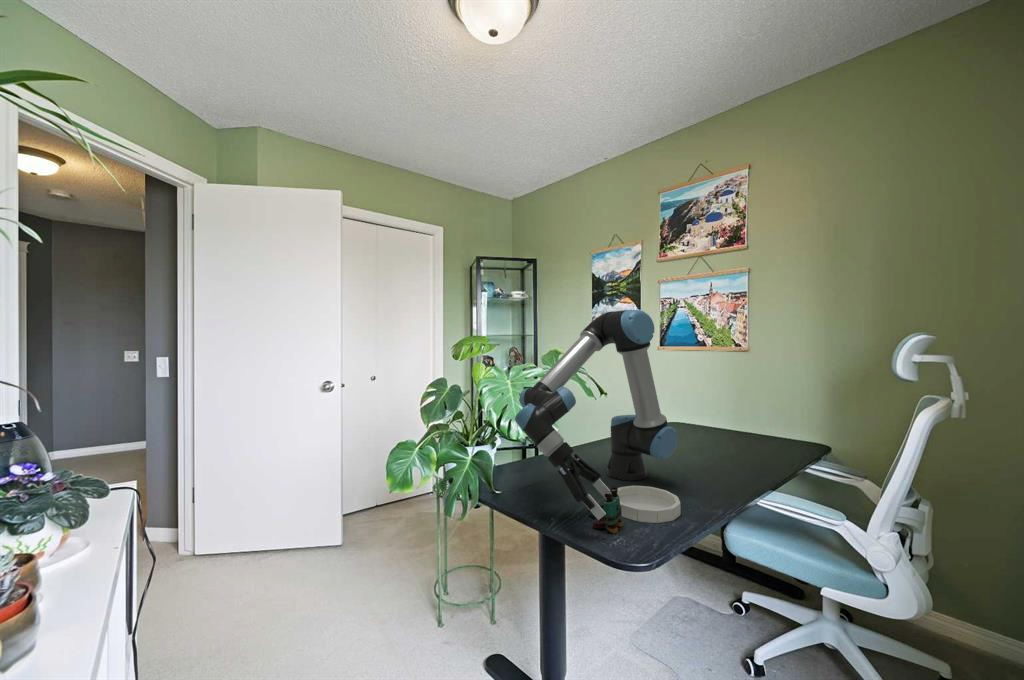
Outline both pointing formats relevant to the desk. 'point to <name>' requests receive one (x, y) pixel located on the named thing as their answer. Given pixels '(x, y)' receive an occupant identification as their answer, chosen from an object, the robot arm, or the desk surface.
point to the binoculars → (610, 512)
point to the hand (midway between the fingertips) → (607, 507)
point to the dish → (648, 504)
